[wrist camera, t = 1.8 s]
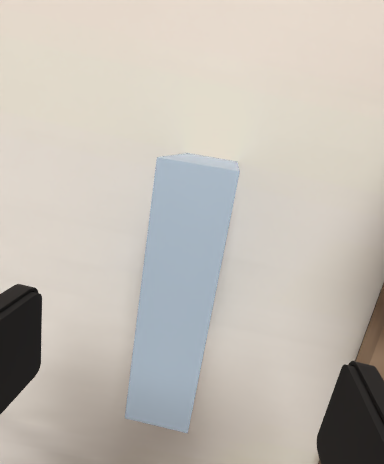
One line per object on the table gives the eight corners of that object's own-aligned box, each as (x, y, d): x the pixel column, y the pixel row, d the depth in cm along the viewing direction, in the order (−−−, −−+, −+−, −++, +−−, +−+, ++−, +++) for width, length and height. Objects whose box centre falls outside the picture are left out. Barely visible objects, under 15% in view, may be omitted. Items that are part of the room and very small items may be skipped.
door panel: (203, 333, 22) (187, 433, 14) (162, 324, 22) (124, 418, 15) (237, 161, 19) (239, 171, 11) (187, 153, 19) (157, 157, 11)
